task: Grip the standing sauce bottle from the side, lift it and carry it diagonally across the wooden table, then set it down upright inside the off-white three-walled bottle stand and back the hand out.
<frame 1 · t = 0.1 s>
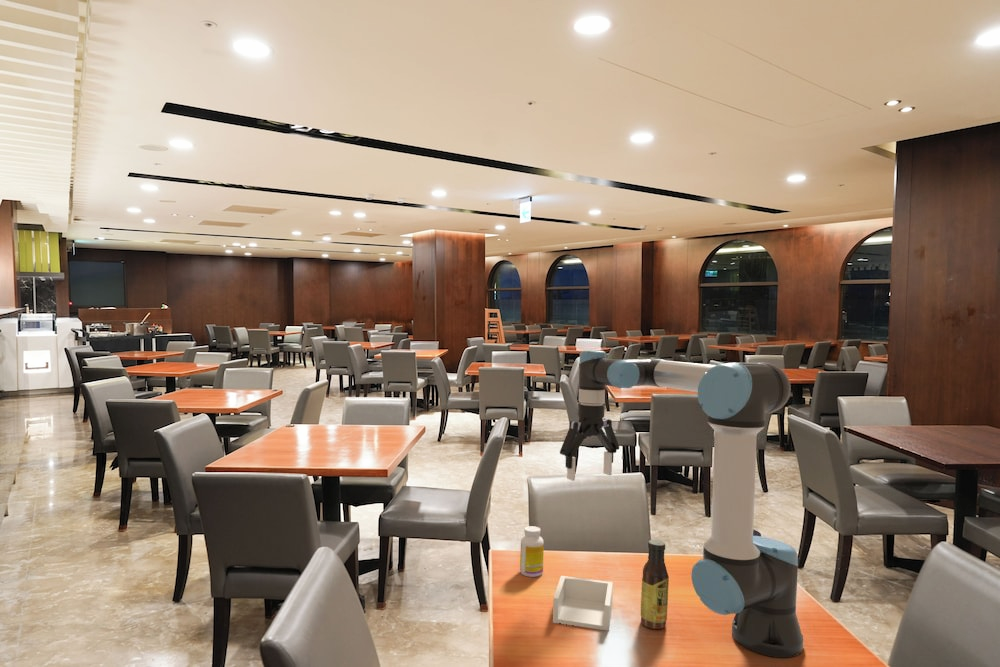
hand: (589, 476, 173), 28 cm above the table, tool pointing down, fingers open, 13 cm apart
sauce bottle: (653, 624, 145), on the table
supplement bottle: (531, 573, 172), on the table
dark ridged cylinder: (740, 585, 168), on the table
bottle stand: (583, 613, 149), on the table
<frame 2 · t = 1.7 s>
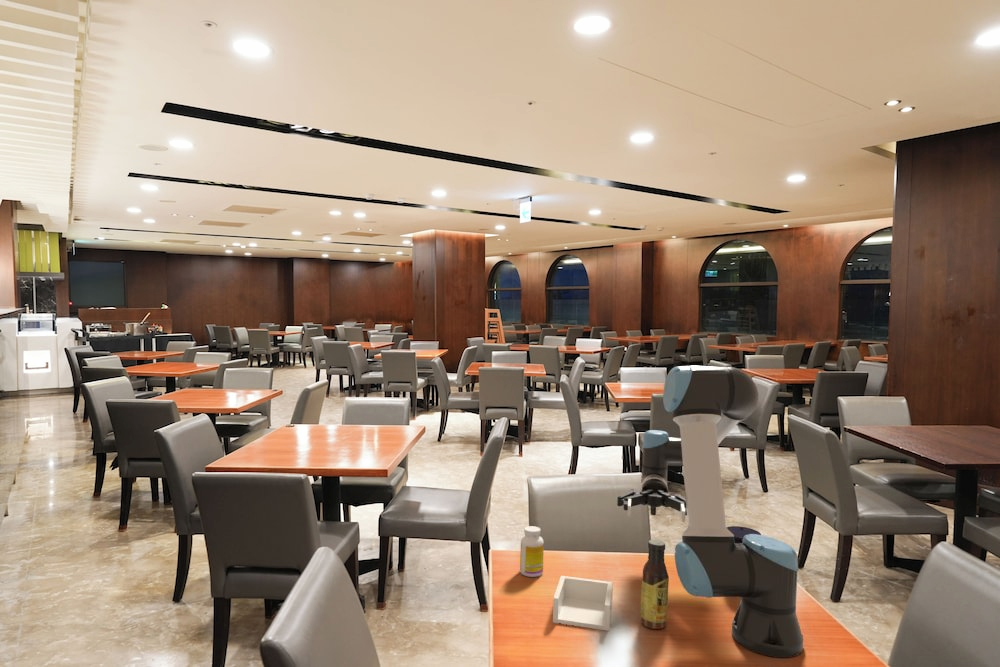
hand: (656, 513, 154), 24 cm above the table, tool horizontal, fingers open, 13 cm apart
nothing on the table moved.
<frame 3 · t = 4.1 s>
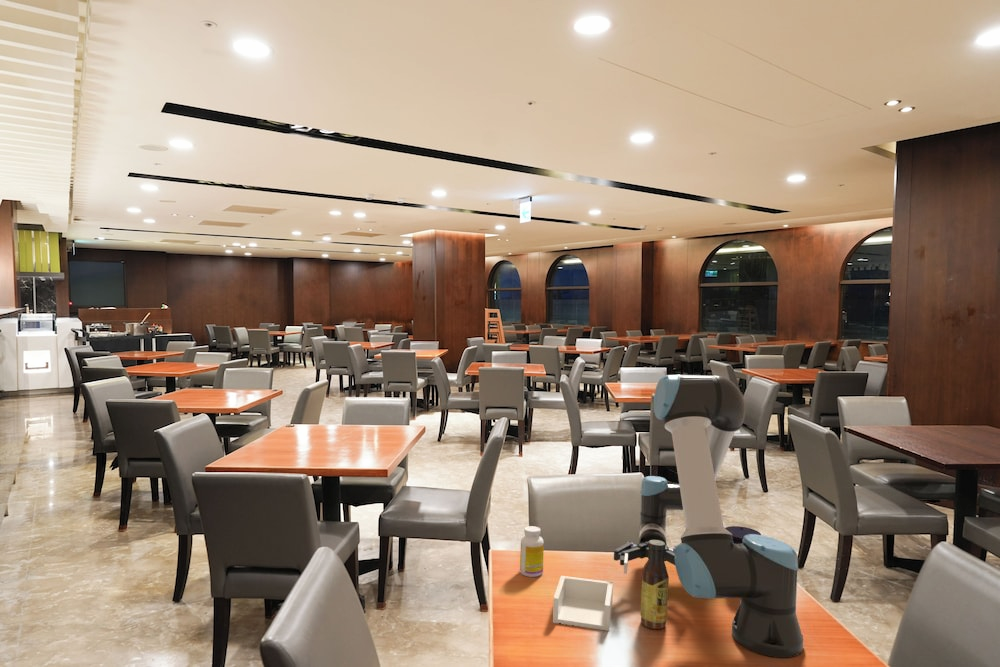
hand: (653, 571, 149), 11 cm above the table, tool horizontal, fingers open, 13 cm apart
nothing on the table moved.
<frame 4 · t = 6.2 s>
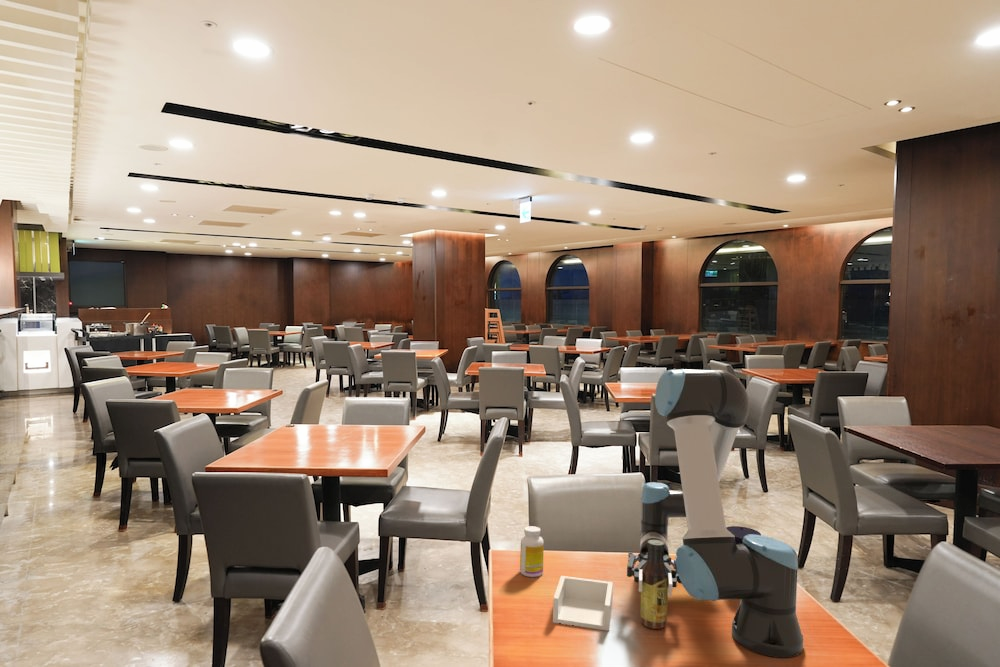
hand: (655, 587, 140), 11 cm above the table, tool horizontal, fingers closed on sauce bottle, 6 cm apart
sauce bottle: (653, 624, 145), on the table, touching gripper
everything else where it was.
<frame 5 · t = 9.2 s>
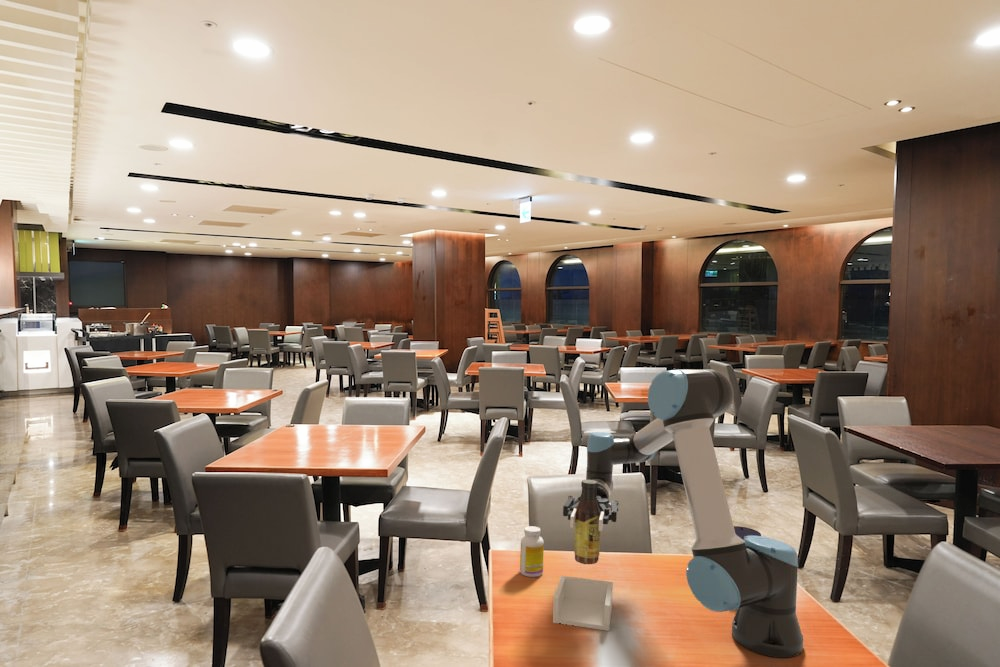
hand: (586, 523, 144), 24 cm above the table, tool horizontal, fingers closed on sauce bottle, 6 cm apart
sauce bottle: (586, 561, 149), point 13 cm above the table, touching gripper
everything else where it was.
when the fingers open (13 cm above the table, at t = 12.1 s): sauce bottle drops 1 cm, resting on bottle stand.
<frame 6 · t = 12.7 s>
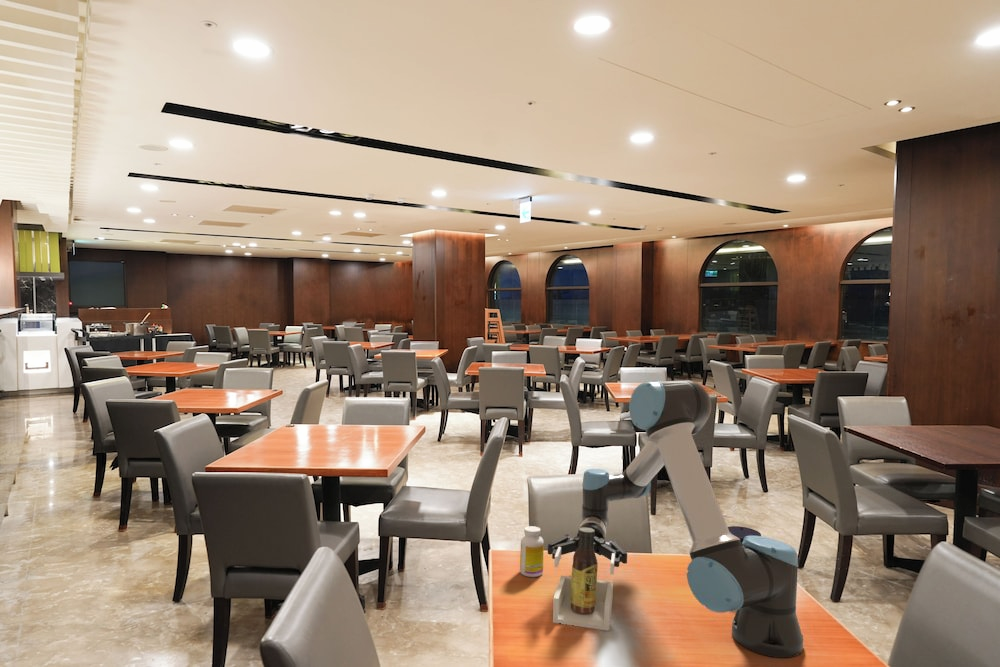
hand: (583, 565, 145), 13 cm above the table, tool horizontal, fingers open, 13 cm apart
sauce bottle: (582, 610, 149), point 1 cm above the table, touching bottle stand
everything else where it was.
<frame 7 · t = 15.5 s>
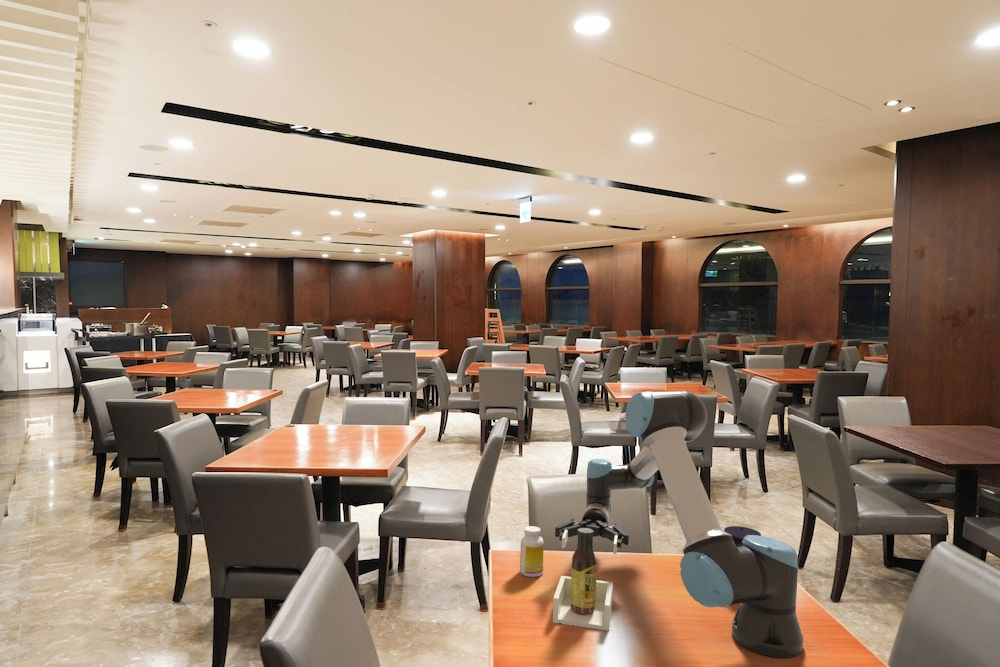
hand: (588, 546, 158), 14 cm above the table, tool horizontal, fingers open, 13 cm apart
nothing on the table moved.
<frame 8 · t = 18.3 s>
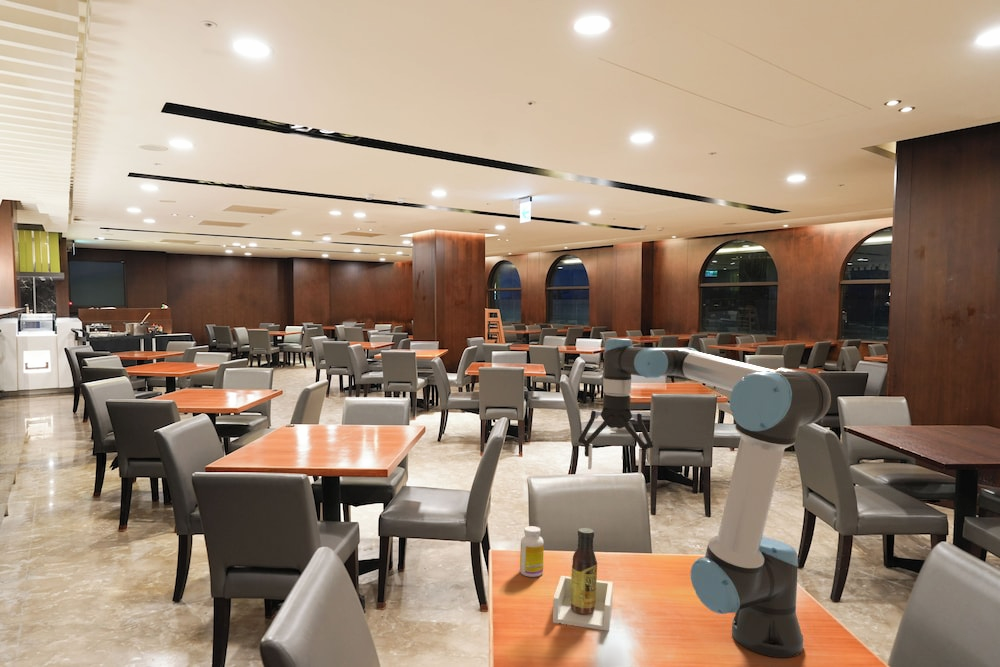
hand: (614, 470, 166), 32 cm above the table, tool pointing down, fingers open, 13 cm apart
nothing on the table moved.
at the end: sauce bottle inside the target area on the bottle stand (0.2 cm from its centre), point 0.8 cm above the bottle stand's base; sauce bottle tilted 0°; the gripper is holding nothing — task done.
